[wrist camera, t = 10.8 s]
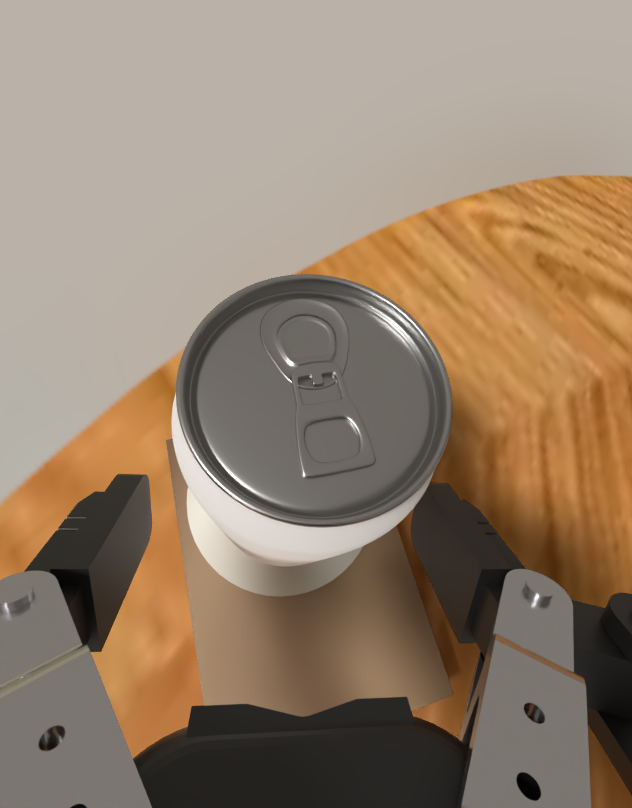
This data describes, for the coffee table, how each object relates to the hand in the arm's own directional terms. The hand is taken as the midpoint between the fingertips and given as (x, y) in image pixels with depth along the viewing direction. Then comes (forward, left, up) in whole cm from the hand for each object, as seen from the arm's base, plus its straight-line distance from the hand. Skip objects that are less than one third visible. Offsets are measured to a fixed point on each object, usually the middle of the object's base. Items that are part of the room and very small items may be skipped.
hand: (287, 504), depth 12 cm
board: (-1, +1, -9) cm, 9 cm away
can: (-1, -2, -7) cm, 7 cm away
